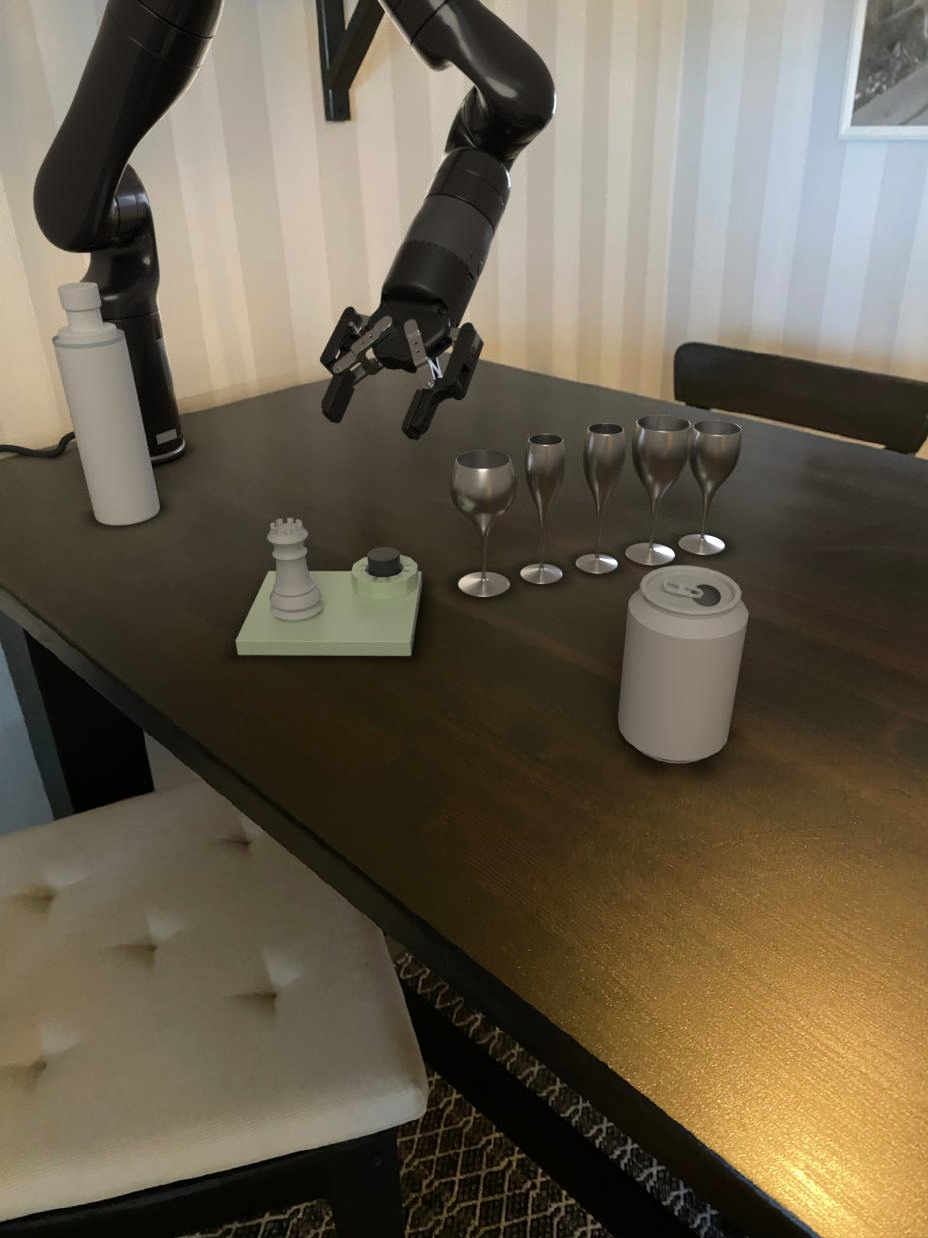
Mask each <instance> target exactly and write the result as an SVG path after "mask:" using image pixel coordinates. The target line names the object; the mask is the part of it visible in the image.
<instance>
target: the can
mask: <svg viewBox="0 0 928 1238" xmlns="http://www.w3.org/2000/svg"><path fill="white" fill-rule="evenodd" d="M742 593H743V592H742V590H741V588H740V586H739V584H738V583H736V581H734V580H733V579H732V578H731V577H730V576H728V575H726V574H724V573H722V572H719V571H717V570H714V569H711V568H707V567H704V566H703V567H702V566H698V565H697V566H696V565H688V564H687V565H681V564H680V565H676V564H675V565H669V566H663V567H660V568H657V569H654V570H651V571H650V572H649V573H647V574H645V575H644V576H643V577H642V579H641V581H640V583H639V589H638V590H636V591H635V592H634V593H633V594H631V596H630V598H629V601H628V603H627V613H626V623H625V634H624V635H625V636H624V647H623V657H622V671H621V679H620V680H621V681H620V691H619V692H620V693H619V702H618V716H617V723H618V729H619V732H620V733H621V735H622V736H623V738H624V739H625V741H626V742H627V743H629V744H630V745H631V746H633V747H634V748H635V749H636V750H638V751H639V752H641V753H642V755H644V756H647V757H649V758H651V759H654V760H656V761H658V762H662V763H663V762H664V763H669V764H689V763H694V762H698V761H700V760H703V759H707V758H708V757H710V756H713V755H714V754H716V753H718V752H720V751H721V750H722V749H723V747H724V746H725V745H726V744H727V743H728V737H729V733H730V728H731V721H732V715H733V708H734V704H735V703H734V702H735V697H736V691H737V686H738V680H739V674H740V667H741V662H742V656H743V650H744V644H745V639H746V633H747V626H748V620H749V614H750V613H749V610H748V609H747V607H746V604H745V603H744V601H742V599H741V598H742V595H743V594H742Z"/></svg>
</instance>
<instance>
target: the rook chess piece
mask: <svg viewBox="0 0 928 1238" xmlns="http://www.w3.org/2000/svg"><path fill="white" fill-rule="evenodd" d="M286 519H287V521H286V522H285V523H284V521H283V519H282V518H278V519H276V520H275V522H271V523H270V524H269V526H270V527H269V528H270V530H269V533H268V534H267V535H266V539H267V541H268V542H269V543H270V544H271V545H272V546H273V551H272V553H271V555H272V557H273V558H274V559H275V571H276V581H275V584H274V586H273V590H272V592H271V594H270V597H269V600H270V604H272V605H271V606H270V612H271V613H272V614H273V615H274V616H275V617H276V618H277V619H279V620H280V621H283V622H287V623H298V622H305V621H307V620H310V619H313V618H314V617H315V616H317V615H318V614H319V612H320V611H321V609H322V607H323V601H322V600H321V599H320V598H321V596H322V595H321V592H320V589H319V587H317V586H316V585H315V582H314V580H312V579H311V577H310V575H309V571H310V570H309V567H308V563H307V557H306V555H307V554H308V548H307V547H306V546H305V545H304V544H305V543H304V542H305V540H306V539H307V537H308V535H309V532H308V530H307V529H306V528H304V526H303V522H302V520H301V519H299V518H297V519H294V517H287V518H286Z"/></svg>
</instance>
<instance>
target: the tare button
mask: <svg viewBox="0 0 928 1238" xmlns="http://www.w3.org/2000/svg"><path fill="white" fill-rule="evenodd" d="M366 555H367V556H366V557H367V558H368V570H369V574H370V575H371V576H375V577H391V576H395V575H398V574H399V573H400V571H401V567H400V555H401V553H400V551H399V550H398V549H396V548H395V547H392V546H391V547H390V546H380V547H374V548H373V549H371V550H369V551H368V552H367V554H366Z"/></svg>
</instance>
